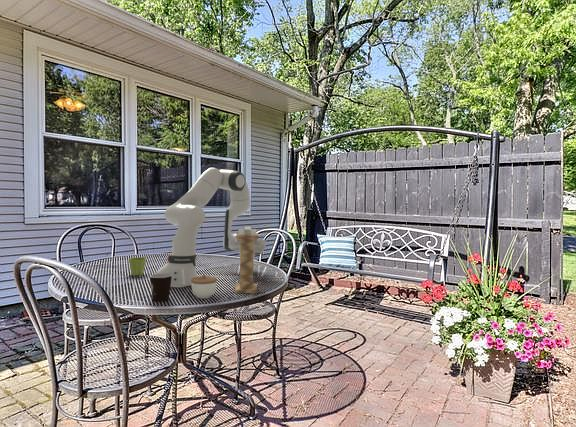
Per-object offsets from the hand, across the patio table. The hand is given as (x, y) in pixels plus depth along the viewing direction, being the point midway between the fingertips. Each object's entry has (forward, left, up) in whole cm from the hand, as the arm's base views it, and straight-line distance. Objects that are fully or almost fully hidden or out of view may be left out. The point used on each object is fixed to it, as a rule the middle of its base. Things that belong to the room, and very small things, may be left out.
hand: (247, 238), depth 193 cm
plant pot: (-59, +10, -22) cm, 64 cm away
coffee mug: (-35, -38, -22) cm, 56 cm away
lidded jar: (-18, -35, -22) cm, 45 cm away
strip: (0, -18, +5) cm, 19 cm away
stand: (0, -23, -21) cm, 32 cm away
